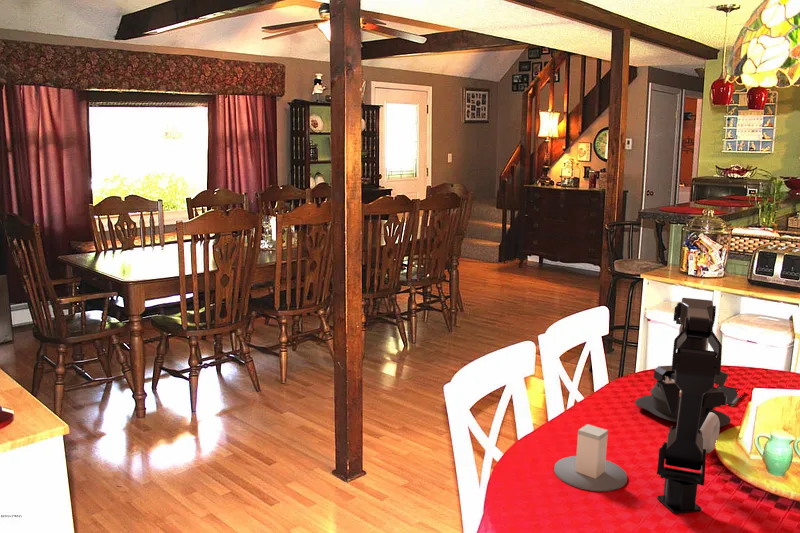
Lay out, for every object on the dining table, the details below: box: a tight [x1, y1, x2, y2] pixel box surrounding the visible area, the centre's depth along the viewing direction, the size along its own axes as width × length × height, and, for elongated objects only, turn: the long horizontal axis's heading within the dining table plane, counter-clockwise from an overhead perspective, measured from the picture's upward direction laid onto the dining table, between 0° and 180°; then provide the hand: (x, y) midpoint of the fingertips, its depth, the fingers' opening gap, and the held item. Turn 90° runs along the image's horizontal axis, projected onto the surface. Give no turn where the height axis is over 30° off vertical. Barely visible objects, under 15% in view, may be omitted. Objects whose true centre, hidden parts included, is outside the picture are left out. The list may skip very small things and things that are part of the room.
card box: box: [575, 423, 609, 479], centre depth 161 cm, size 5×4×10 cm
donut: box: [700, 412, 721, 454], centre depth 174 cm, size 10×3×10 cm, turn 141°
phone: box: [715, 385, 742, 406], centre depth 213 cm, size 8×1×15 cm
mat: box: [553, 455, 628, 492], centre depth 162 cm, size 16×16×1 cm
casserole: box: [634, 382, 732, 428], centre depth 196 cm, size 25×19×8 cm
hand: (684, 421), depth 160 cm, fingers open, 9 cm apart
